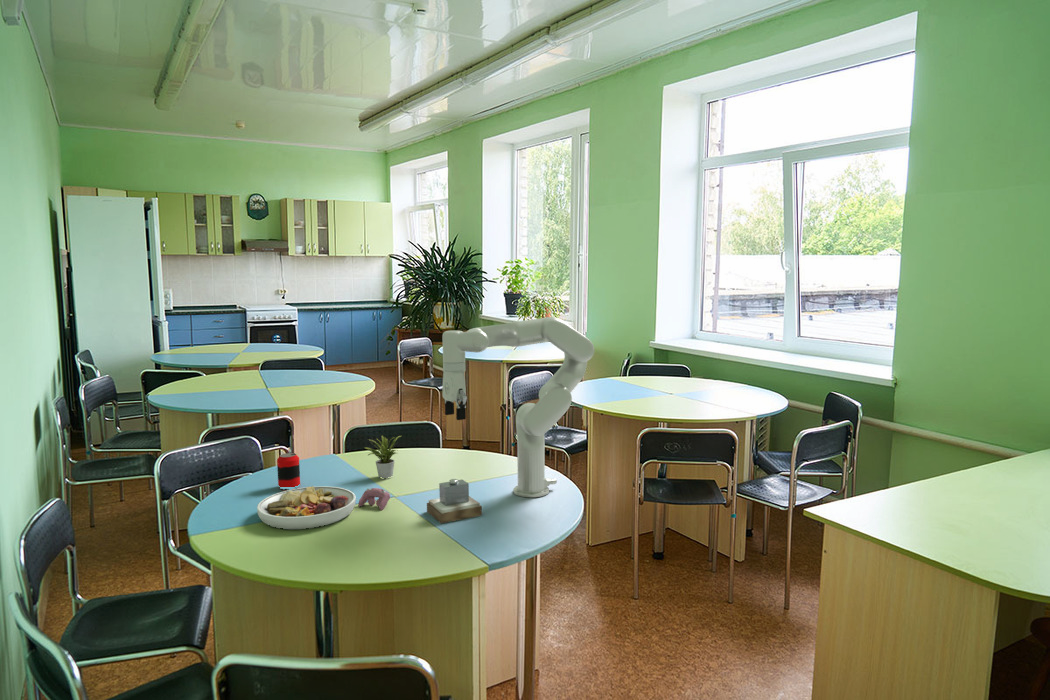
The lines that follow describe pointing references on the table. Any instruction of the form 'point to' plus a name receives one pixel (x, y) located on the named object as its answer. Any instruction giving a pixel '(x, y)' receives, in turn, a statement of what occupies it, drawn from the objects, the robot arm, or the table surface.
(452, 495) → the block
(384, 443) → the house plant
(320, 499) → the bowl
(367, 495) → the video game controller
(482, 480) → the table surface
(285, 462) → the soda can
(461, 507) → the stand
